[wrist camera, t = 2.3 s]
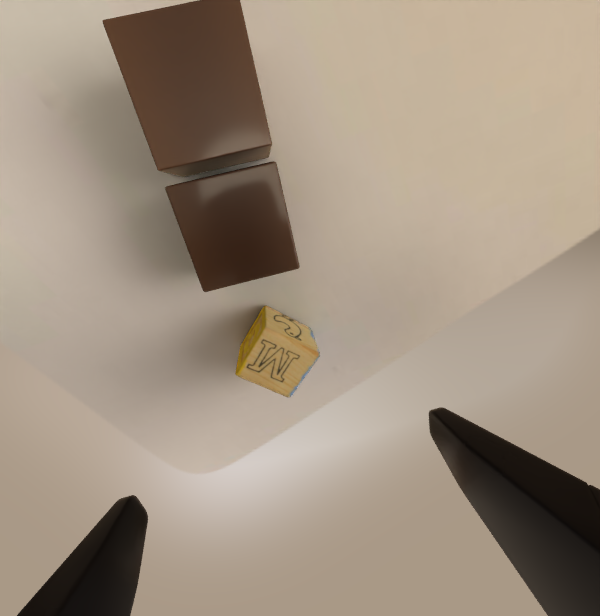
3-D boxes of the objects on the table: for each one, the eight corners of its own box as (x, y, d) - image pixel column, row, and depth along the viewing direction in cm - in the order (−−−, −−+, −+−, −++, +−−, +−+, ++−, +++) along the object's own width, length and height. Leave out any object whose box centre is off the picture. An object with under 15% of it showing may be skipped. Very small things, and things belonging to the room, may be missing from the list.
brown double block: (215, 271, 15) (203, 292, 11) (145, 69, 11) (101, 19, 8) (291, 252, 15) (300, 268, 12) (243, 48, 12) (238, -9, 8)
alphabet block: (284, 367, 17) (289, 401, 14) (238, 347, 16) (233, 378, 14) (311, 327, 17) (322, 354, 14) (264, 303, 16) (265, 326, 13)
